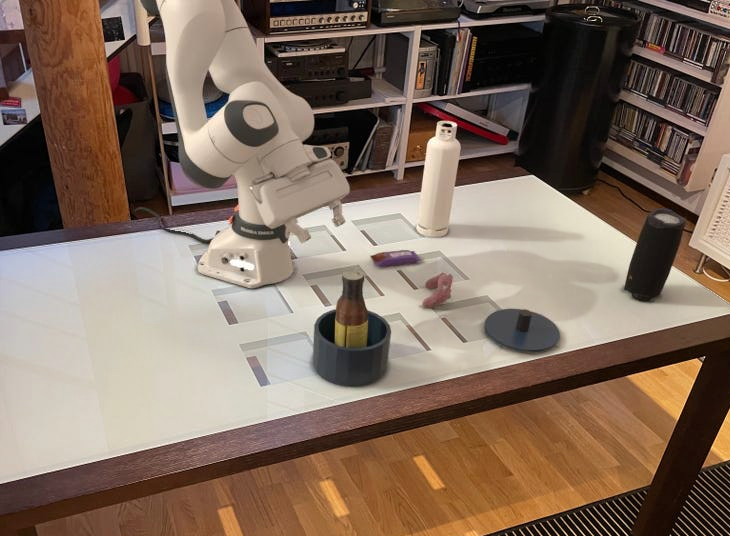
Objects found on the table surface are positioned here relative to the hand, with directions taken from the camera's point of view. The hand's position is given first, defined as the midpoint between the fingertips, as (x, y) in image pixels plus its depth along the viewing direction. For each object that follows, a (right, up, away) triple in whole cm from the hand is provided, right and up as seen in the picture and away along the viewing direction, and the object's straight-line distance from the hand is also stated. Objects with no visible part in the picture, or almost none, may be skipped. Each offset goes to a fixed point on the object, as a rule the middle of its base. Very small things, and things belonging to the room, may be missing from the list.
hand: (324, 232), depth 141 cm
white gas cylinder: (+30, +10, +58) cm, 66 cm away
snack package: (+18, 0, +44) cm, 48 cm away
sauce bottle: (+5, -24, +10) cm, 26 cm away
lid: (+42, -17, +20) cm, 50 cm away
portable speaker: (+74, -8, +35) cm, 83 cm away
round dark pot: (+5, -24, +10) cm, 27 cm away
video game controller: (+26, -10, +31) cm, 42 cm away
